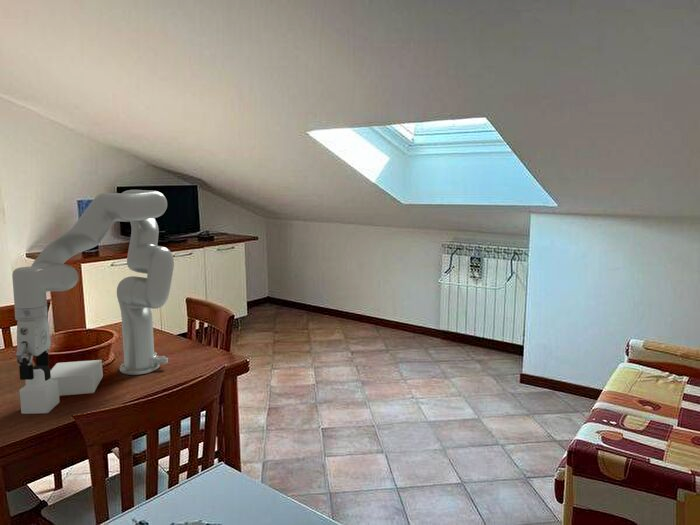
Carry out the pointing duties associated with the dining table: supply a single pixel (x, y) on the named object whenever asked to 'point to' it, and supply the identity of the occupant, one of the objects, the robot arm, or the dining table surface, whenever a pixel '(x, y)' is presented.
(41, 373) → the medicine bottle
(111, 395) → the dining table surface
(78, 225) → the robot arm
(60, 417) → the dining table surface
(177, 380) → the dining table surface
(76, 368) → the grey block
